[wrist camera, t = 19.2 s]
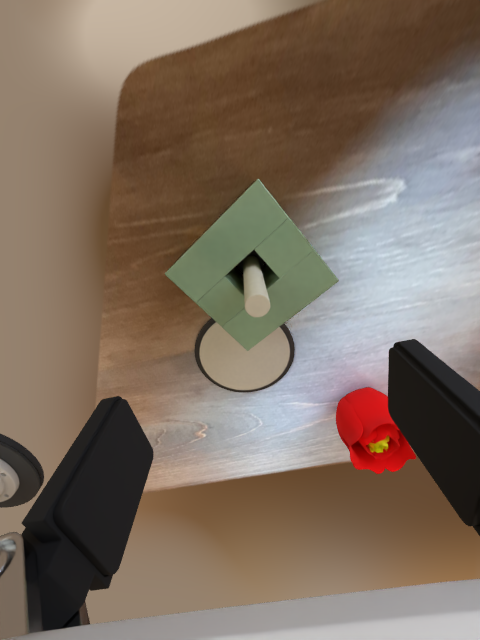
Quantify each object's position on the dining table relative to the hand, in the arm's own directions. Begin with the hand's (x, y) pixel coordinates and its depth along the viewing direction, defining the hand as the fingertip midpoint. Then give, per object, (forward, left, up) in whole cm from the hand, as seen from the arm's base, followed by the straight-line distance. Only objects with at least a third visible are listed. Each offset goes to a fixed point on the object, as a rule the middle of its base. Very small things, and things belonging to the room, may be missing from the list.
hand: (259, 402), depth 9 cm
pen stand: (0, 0, -20) cm, 20 cm away
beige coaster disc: (+8, -8, -20) cm, 23 cm away
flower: (+24, -2, -20) cm, 31 cm away
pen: (0, 0, -20) cm, 20 cm away
